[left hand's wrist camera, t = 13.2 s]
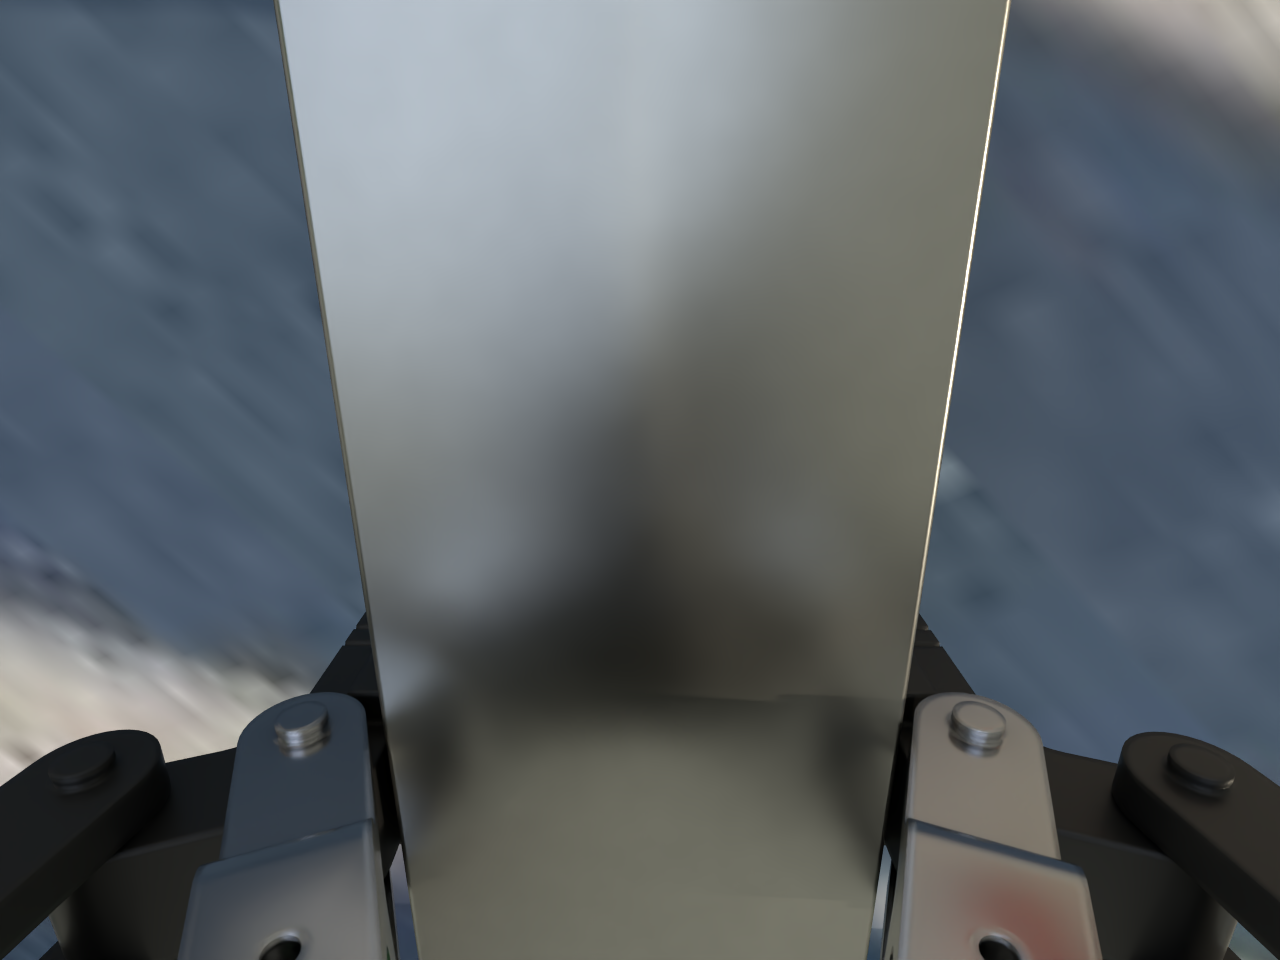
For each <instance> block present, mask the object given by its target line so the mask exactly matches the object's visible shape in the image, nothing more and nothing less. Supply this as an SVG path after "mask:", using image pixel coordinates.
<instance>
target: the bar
mask: <svg viewBox="0 0 1280 960" xmlns="http://www.w3.org/2000/svg"><path fill="white" fill-rule="evenodd" d="M273 1H274V8H275V15H276V21H277V28H278V34H279V41H280V48H281V54H282V61H283V67H284V74H285V80H286V87H287V94H288V100H289V107H290V113H291V120H292V127H293V133H294V140H295V146H296V153H297V160H298V166H299V173H300V179H301V186H302V193H303V199H304V206H305V212H306V219H307V226H308V232H309V239H310V245H311V252H312V258H313V265H314V272H315V278H316V285H317V291H318V298H319V305H320V311H321V318H322V324H323V331H324V338H325V344H326V351H327V357H328V364H329V371H330V377H331V384H332V390H333V397H334V403H335V410H336V417H337V423H338V430H339V436H340V443H341V450H342V456H343V463H344V469H345V476H346V483H347V489H348V496H349V502H350V509H351V516H352V522H353V529H354V535H355V542H356V549H357V555H358V562H359V568H360V575H361V581H362V588H363V595H364V601H365V608H366V614H367V621H368V628H369V634H370V641H371V647H372V654H373V661H374V667H375V674H376V680H377V687H378V694H379V700H380V707H381V713H382V720H383V726H384V733H385V740H386V746H387V753H388V759H389V766H390V773H391V779H392V786H393V792H394V799H395V806H396V812H397V819H398V825H399V832H400V839H401V845H402V852H403V858H404V865H405V872H406V878H407V885H408V891H409V898H410V904H411V911H412V918H413V924H414V931H415V937H416V944H417V951H418V957H419V960H867V953H868V947H869V940H870V933H871V927H872V920H873V913H874V907H875V900H876V894H877V887H878V880H879V874H880V867H881V860H882V854H883V847H884V841H885V834H886V827H887V821H888V814H889V807H890V801H891V794H892V787H893V781H894V774H895V768H896V761H897V754H898V748H899V741H900V734H901V728H902V721H903V715H904V708H905V701H906V695H907V688H908V681H909V675H910V668H911V662H912V655H913V648H914V642H915V635H916V628H917V622H918V615H919V608H920V602H921V595H922V589H923V582H924V575H925V569H926V562H927V555H928V549H929V542H930V536H931V529H932V522H933V516H934V509H935V502H936V496H937V489H938V483H939V476H940V469H941V463H942V456H943V449H944V443H945V436H946V430H947V423H948V416H949V410H950V403H951V396H952V390H953V383H954V376H955V370H956V363H957V357H958V350H959V343H960V337H961V330H962V323H963V317H964V310H965V304H966V297H967V290H968V284H969V277H970V270H971V264H972V257H973V251H974V244H975V237H976V231H977V224H978V217H979V211H980V204H981V197H982V191H983V184H984V178H985V171H986V164H987V158H988V151H989V144H990V138H991V131H992V125H993V118H994V111H995V105H996V98H997V91H998V85H999V78H1000V72H1001V65H1002V58H1003V52H1004V45H1005V38H1006V32H1007V25H1008V18H1009V12H1010V5H1011V0H273Z"/></svg>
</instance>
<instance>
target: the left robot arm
mask: <svg viewBox="0 0 1280 960" xmlns="http://www.w3.org/2000/svg"><path fill="white" fill-rule="evenodd" d="M399 844H401V839H400V832H399V825H398V819H397V812H396V806H395V799H394V792H393V786H392V779H391V773H390V766H389V759H388V753H387V746H386V740H385V733H384V726H383V720H382V713H381V707H380V700H379V694H378V687H377V680H376V674H375V667H374V661H373V654H372V647H371V641H370V634H369V628H368V621H367V614H366V612H365V614H364V615H363V617H362V618H361V619H360V621H359V622H358V624H357V625H356V629H354V630H353V631H352V633H351V634H350V636H349V637H348V638H347V640H346V641H345V646H342V647H341V649H340V650H339V652H338V653H337V655H336V656H335V657H334V659H333V660H332V662H331V663H330V665H329V666H328V668H327V669H326V671H325V672H324V674H323V675H322V676H321V678H320V679H319V681H318V682H317V684H316V685H315V687H314V688H313V690H312V691H311V692H310V694H306V695H301V696H298V697H294V698H291V699H288V700H285V701H283V702H281V703H279V704H276V705H274V706H272V707H271V708H269V709H267V710H265V711H264V712H262V713H261V714H260V715H258V716H257V717H256V718H254V719H253V720H252V721H251V722H250V723H249V724H248V725H247V726H246V728H245V729H244V730H243V732H242V733H241V735H240V737H239V740H238V743H237V747H236V748H232V749H228V750H224V751H220V752H215V753H210V754H206V755H201V756H196V757H192V758H187V759H182V760H177V761H173V762H168V763H165V760H164V757H163V753H162V750H161V746H160V743H159V741H158V739H156V738H155V737H154V736H153V735H151V734H149V733H147V732H143V731H139V730H115V731H108V732H103V733H99V734H94V735H91V736H88V737H85V738H81V739H79V740H76V741H74V742H71V743H68V744H66V745H64V746H62V747H60V748H58V749H56V750H54V751H52V752H50V753H48V754H47V755H45V756H43V757H42V758H40V759H39V760H37V761H36V762H34V763H33V764H31V765H30V766H28V767H27V768H26V769H24V770H23V771H21V772H20V773H19V774H17V775H16V776H15V777H13V778H12V779H10V780H9V781H8V782H6V783H5V784H3V785H2V786H1V787H0V960H2V959H3V958H4V957H5V956H6V955H7V954H8V953H9V952H10V951H11V950H12V949H13V948H15V947H16V946H17V945H18V944H19V943H20V942H21V941H22V940H23V939H24V938H25V937H26V936H27V935H28V934H29V933H31V932H32V931H33V930H34V929H35V928H36V927H37V926H38V925H39V924H40V923H41V922H42V921H43V920H44V919H45V918H47V917H48V916H49V918H50V921H51V923H52V926H53V928H54V931H55V934H56V936H57V939H58V941H57V942H56V943H55V944H54V945H53V946H52V947H51V948H50V949H49V950H48V951H47V952H46V953H45V954H44V955H43V956H42V957H41V958H40V959H39V960H400V952H399V942H398V933H397V923H396V914H395V904H394V894H393V885H392V878H391V872H390V867H391V865H392V862H393V859H394V857H395V854H396V851H397V849H398V846H399ZM884 845H886V847H887V849H888V852H889V854H890V857H891V866H890V872H889V878H888V885H887V894H886V904H885V914H884V923H883V933H882V942H881V952H880V960H1241V959H1240V958H1239V957H1238V956H1237V955H1236V954H1235V953H1234V952H1233V951H1232V950H1231V949H1230V948H1229V947H1228V945H1229V943H1230V940H1231V938H1232V935H1233V932H1234V930H1235V927H1236V925H1237V922H1239V923H1240V924H1241V925H1242V926H1243V927H1244V928H1245V929H1246V930H1247V931H1248V932H1249V933H1251V934H1252V935H1253V936H1254V937H1255V938H1256V939H1257V940H1258V941H1259V942H1260V943H1261V944H1262V945H1263V946H1264V947H1265V948H1267V949H1268V950H1269V951H1270V952H1271V953H1272V954H1273V955H1274V956H1275V957H1276V958H1277V959H1278V960H1280V787H1279V786H1278V785H1277V784H1275V783H1274V782H1272V781H1271V780H1270V779H1268V778H1267V777H1266V776H1264V775H1263V774H1261V773H1260V772H1259V771H1257V770H1256V769H1254V768H1253V767H1252V766H1250V765H1249V764H1247V763H1246V762H1244V761H1243V760H1241V759H1240V758H1238V757H1236V756H1234V755H1232V754H1231V753H1229V752H1227V751H1225V750H1223V749H1221V748H1218V747H1216V746H1214V745H1212V744H1209V743H1206V742H1204V741H1201V740H1198V739H1195V738H1191V737H1188V736H1183V735H1179V734H1174V733H1166V732H1145V733H1140V734H1136V735H1134V736H1132V737H1130V738H1129V739H1128V740H1127V741H1125V743H1124V745H1123V747H1122V751H1121V754H1120V758H1119V761H1118V764H1116V763H1111V762H1107V761H1102V760H1097V759H1093V758H1088V757H1083V756H1078V755H1074V754H1069V753H1064V752H1060V751H1056V750H1053V749H1049V748H1046V747H1043V743H1042V740H1041V737H1040V735H1039V733H1038V732H1037V730H1036V729H1035V728H1034V726H1033V725H1032V724H1031V723H1030V722H1029V721H1028V720H1027V719H1026V718H1024V717H1023V716H1022V715H1020V714H1019V713H1018V712H1016V711H1015V710H1013V709H1011V708H1009V707H1008V706H1006V705H1004V704H1001V703H999V702H997V701H995V700H992V699H989V698H986V697H982V696H979V695H976V694H975V693H974V692H973V690H972V689H971V687H970V686H969V684H968V683H967V682H966V680H965V679H964V677H963V676H962V674H961V673H960V671H959V670H958V669H957V667H956V666H955V664H954V663H953V661H952V660H951V658H950V657H949V656H948V654H947V653H946V651H945V650H944V648H943V647H940V646H939V641H938V640H937V638H936V637H935V635H934V634H933V633H932V631H931V630H928V625H927V624H926V623H925V621H924V620H923V618H922V617H921V615H920V614H919V615H918V622H917V628H916V635H915V642H914V648H913V655H912V662H911V668H910V675H909V681H908V688H907V695H906V701H905V708H904V715H903V721H902V728H901V734H900V741H899V748H898V754H897V761H896V768H895V774H894V781H893V787H892V794H891V801H890V807H889V814H888V821H887V827H886V834H885V841H884Z"/></svg>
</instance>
